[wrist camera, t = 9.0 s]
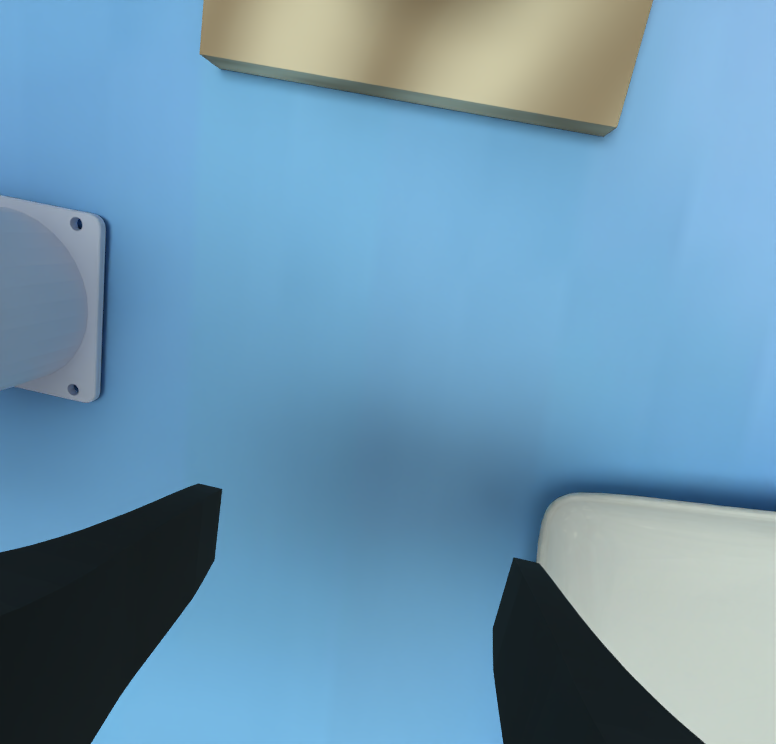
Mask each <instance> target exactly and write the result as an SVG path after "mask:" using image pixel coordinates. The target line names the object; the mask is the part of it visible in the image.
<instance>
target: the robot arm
mask: <svg viewBox="0 0 776 744" xmlns="http://www.w3.org/2000/svg"><path fill="white" fill-rule="evenodd" d="M78 219H80V220H81V221H82V225H83V226H82V229H81V230H80V229H79V228H78V225H77V221H78ZM105 236H106V227H105V223H104V221H103V219H102V218H101V217H100V216H98V215H96V214H93V213H88V212H83V211H78V210H73V209H68V208H63V207H58V206H53V205H48V204H43V203H38V202H33V201H28V200H23V199H18V198H13V197H8V196H3V195H0V391H2V390H5V389H8V388H11V387H18V388H22V389H26V390H31V391H35V392H40V393H44V394H48V395H53V396H57V397H62V398H66V399H70V400H75V401H79V402H84V403H89V402H92V401H94V400H96V399H97V398H98V397H99V395H100V381H101V352H102V323H103V294H104V265H105ZM74 385H76V386H77V387H78V390H79V392H76V390H75V389H74ZM221 495H222V489H220V488H215V487H211V486H207V485H203V484H196V485H193V486H190V487H188V488H185V489H183V490H180V491H178V492H175V493H173V494H171V495H168V496H166V497H164V498H161V499H159V500H157V501H154V502H152V503H150V504H147V505H145V506H142V507H140V508H138V509H135V510H133V511H130V512H128V513H126V514H123V515H120V516H118V517H115V518H112V519H110V520H107V521H104V522H102V523H99V524H96V525H94V526H91V527H88V528H86V529H83V530H80V531H77V532H74V533H71V534H68V535H65V536H61V537H58V538H55V539H51V540H48V541H44V542H41V543H37V544H34V545H30V546H26V547H23V548H18V549H14V550H9V551H5V552H0V744H91V742H92V741H93V739H94V737H95V736H96V734H97V733H98V731H99V729H100V728H101V726H102V725H103V723H104V721H105V720H106V718H107V716H108V715H109V713H110V712H111V710H112V708H113V707H114V705H115V704H116V702H117V700H118V699H119V697H120V696H121V694H122V693H123V691H124V690H125V688H126V687H127V686H128V684H129V683H130V681H131V680H132V678H133V677H134V676H135V674H136V673H137V672H138V670H139V669H140V668H141V666H142V665H143V664H144V662H145V661H146V660H147V658H148V657H149V656H150V654H151V653H152V652H153V651H154V649H155V648H156V647H157V645H158V644H159V643H160V641H161V640H162V639H163V637H164V636H165V635H166V633H167V632H168V631H169V629H170V628H171V627H172V625H173V624H174V623H175V621H176V620H177V619H178V617H179V616H180V615H181V613H182V612H183V611H184V609H185V608H186V606H187V605H188V604H189V602H190V601H191V600H192V598H193V597H194V595H195V594H196V592H197V590H198V588H199V587H200V585H201V583H202V582H203V580H204V578H205V576H206V574H207V573H208V571H209V569H210V567H211V565H212V564H213V562H214V559H215V550H216V541H217V531H218V522H219V513H220V504H221ZM493 671H494V679H495V687H496V694H497V702H498V709H499V716H500V723H501V730H502V737H503V744H705V743H704V742H703V741H702V740H701V739H700V738H698V737H697V736H696V735H695V734H694V733H693V732H691V731H690V730H689V729H688V728H687V727H686V726H684V725H683V724H682V723H681V722H680V721H679V720H678V719H676V718H675V717H674V716H673V715H672V714H671V713H670V712H669V711H668V710H667V709H665V708H664V707H663V706H662V705H661V704H660V703H659V702H658V701H657V700H656V699H655V698H654V697H653V696H652V695H651V694H650V693H649V692H648V691H647V690H646V689H645V688H644V687H643V686H642V685H641V684H640V683H639V682H638V681H637V680H636V679H635V678H634V677H633V676H632V675H631V674H630V673H629V672H628V671H627V670H626V669H625V668H624V667H623V666H622V664H621V663H620V662H619V661H618V660H617V659H616V658H615V657H614V655H613V654H612V653H611V652H610V651H609V650H608V649H607V648H606V646H605V645H604V644H603V643H602V642H601V641H600V640H599V638H598V637H597V636H596V635H595V634H594V632H593V631H592V630H591V629H590V628H589V626H588V625H587V624H586V623H585V621H584V620H583V619H582V618H581V616H580V615H579V614H578V613H577V611H576V610H575V609H574V607H573V606H572V605H571V604H570V602H569V601H568V600H567V598H566V597H565V596H564V594H563V593H562V592H561V590H560V589H559V588H558V586H557V585H556V584H555V583H554V581H553V580H552V579H551V577H550V576H549V575H548V573H547V572H546V571H545V569H544V568H543V567H542V566H541V565H540V563H535V562H531V561H527V560H523V559H518V558H513V562H512V565H511V568H510V572H509V575H508V578H507V582H506V585H505V589H504V592H503V595H502V599H501V602H500V606H499V609H498V612H497V616H496V619H495V623H494V626H493Z"/></svg>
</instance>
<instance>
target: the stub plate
mask: <svg viewBox="0 0 776 744" xmlns="http://www.w3.org/2000/svg"><path fill="white" fill-rule="evenodd" d="M652 2H653V0H204V4H203V17H202V30H201V43H200V55H202V56H203V57H204V58H206V59H207V60H208V61H210V62H211V63H212V64H214V65H215V66H217V67H218V68H219V69H225V70H231V71H236V72H242V73H247V74H253V75H259V76H264V77H270V78H276V79H281V80H287V81H293V82H298V83H304V84H309V85H315V86H321V87H326V88H332V89H338V90H343V91H349V92H355V93H360V94H366V95H372V96H377V97H383V98H388V99H394V100H400V101H405V102H411V103H417V104H422V105H428V106H434V107H439V108H445V109H450V110H456V111H462V112H467V113H473V114H479V115H484V116H490V117H496V118H501V119H507V120H512V121H518V122H524V123H529V124H535V125H541V126H546V127H552V128H558V129H563V130H569V131H574V132H580V133H586V134H591V135H597V136H603V137H604V136H605V135H607V134H608V133H609V132H611V131H612V130H614V129H615V128H617V126H618V122H619V118H620V115H621V111H622V108H623V104H624V101H625V97H626V94H627V90H628V87H629V83H630V80H631V76H632V73H633V69H634V66H635V62H636V59H637V55H638V51H639V48H640V44H641V41H642V37H643V34H644V30H645V27H646V23H647V20H648V16H649V13H650V9H651V6H652Z"/></svg>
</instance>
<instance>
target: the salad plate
mask: <svg viewBox="0 0 776 744" xmlns="http://www.w3.org/2000/svg"><path fill="white" fill-rule="evenodd" d="M536 563H540V565H541V566H542V567H543V568H544V569H545V571H546V572H547V573H548V575H549V576H550V577H551V579H552V580H553V581H554V583H555V584H556V585H557V586H558V588H559V589H560V590H561V592H562V593H563V594H564V596H565V597H566V598H567V600H568V601H569V602H570V604H571V605H572V606H573V607H574V609H575V610H576V611H577V613H578V614H579V615H580V616H581V618H582V619H583V620H584V621H585V623H586V624H587V625H588V626H589V628H590V629H591V630H592V631H593V632H594V634H595V635H596V636H597V637H598V638H599V640H600V641H601V642H602V643H603V644H604V645H605V646H606V648H607V649H608V650H609V651H610V652H611V653H612V654H613V655H614V657H615V658H616V659H617V660H618V661H619V662H620V663H621V664H622V666H623V667H624V668H625V669H626V670H627V671H628V672H629V673H630V674H631V675H632V676H633V677H634V678H635V679H636V680H637V681H638V682H639V683H640V684H641V685H642V686H643V687H644V688H645V689H646V690H647V691H648V692H649V693H650V694H651V695H652V696H653V697H654V698H655V699H656V700H657V701H658V702H659V703H660V704H661V705H662V706H663V707H664V708H665V709H667V710H668V711H669V712H670V713H671V714H672V715H673V716H674V717H675V718H676V719H678V720H679V721H680V722H681V723H682V724H683V725H684V726H686V727H687V728H688V729H689V730H690V731H691V732H693V733H694V734H695V735H696V736H697V737H698V738H700V739H701V740H702V741H703V742H704V743H705V744H776V511H766V510H757V509H748V508H738V507H729V506H720V505H713V504H703V503H694V502H685V501H676V500H668V499H659V498H651V497H642V496H634V495H623V494H609V493H584V492H578V493H571V494H567V495H564V496H561V497H559V498H557V499H556V500H555V501H553V502H552V503H551V504H550V505H549V506H548V508H547V510H546V511H545V514H544V517H543V520H542V523H541V528H540V534H539V539H538V549H537V560H536Z"/></svg>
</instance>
